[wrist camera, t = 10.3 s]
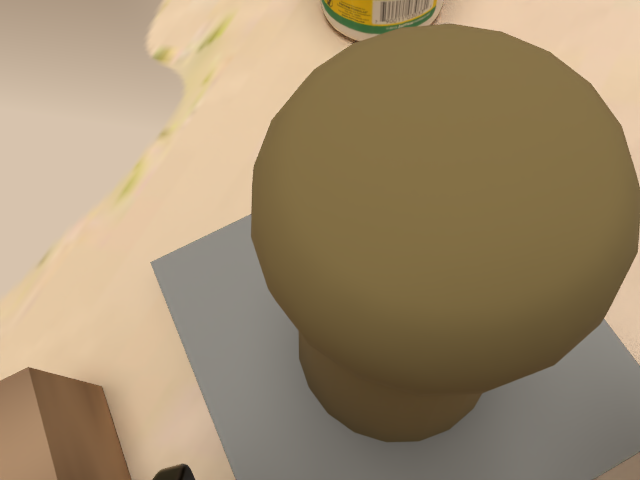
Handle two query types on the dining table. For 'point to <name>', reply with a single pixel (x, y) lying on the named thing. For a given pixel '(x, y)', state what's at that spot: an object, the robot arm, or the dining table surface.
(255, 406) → the grey mat
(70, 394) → the walnut divider
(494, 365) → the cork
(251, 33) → the dining table surface
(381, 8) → the supplement bottle
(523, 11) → the dining table surface
